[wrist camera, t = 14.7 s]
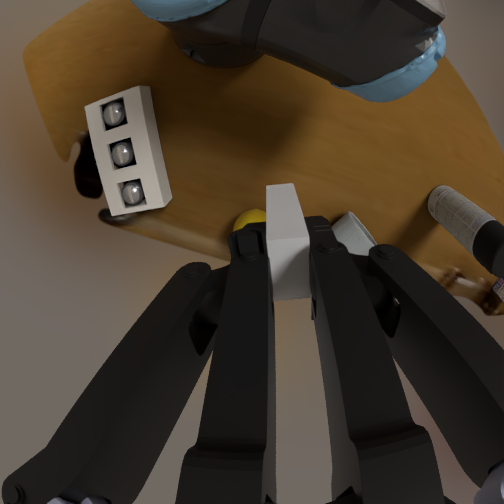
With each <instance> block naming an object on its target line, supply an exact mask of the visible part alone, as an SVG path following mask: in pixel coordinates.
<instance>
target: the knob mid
mask: <svg viewBox="0 0 504 504" xmlns="http://www.w3.org/2000/svg"><path fill="white" fill-rule="evenodd" d="M111 156H112V159H113V161H114V163H115V164H117V165H119V166H124V165H127V164H128V163H130V162H132V161H134V160H136V159H135V154H134V150H133V145H132V141H131V139H130V140H127V141H124V142H121V143H118V144H116V145H115V146H114V147H113V149H112V153H111Z"/></svg>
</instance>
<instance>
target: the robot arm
mask: <svg viewBox="0 0 504 504" xmlns="http://www.w3.org/2000/svg"><path fill="white" fill-rule="evenodd" d="M131 2H132V3H133V4H134V5H135V6H136V7H138V8H139V10H140V11H141V12H142V13H143V14H144V15H146V16H147V17H148V18H152V19H154V20H156V21H158V22H159V23H161V24H163V25H164V26H166V27H167V28H169V29H170V30H172V32H173V37H174V39H175V42H176V44H177V45H178V47H179V48H180V50H181V51H182V52H183V53H184V54H185V55H187V56H188V57H189V58H191V59H193V60H194V61H196V62H198V63H200V64H203V65H206V66H209V67H215V68H232V67H238V66H242V65H245V64H248V63H250V62H252V61H254V60H256V59H258V58H259V57H261V56H262V55H263V54H267V55H269V56H272V57H275V58H277V59H280V60H283V61H285V62H288V63H290V64H292V65H295V66H297V67H299V68H302V69H304V70H306V71H309V72H311V73H313V74H315V75H317V76H319V77H321V78H324V79H326V80H328V81H330V83H331V84H332V85H333V86H335V87H337V88H339V89H343V90H347V91H349V92H351V93H353V94H355V95H357V96H359V97H361V98H363V99H365V100H368V101H372V102H389V101H393V100H396V99H399V98H401V97H403V96H405V95H407V94H408V93H410V92H412V91H413V90H415V89H416V88H417V87H419V86H420V85H421V84H422V83H423V82H424V81H426V80H427V79H428V78H429V76H430V75H431V74H432V73H433V72H434V70H435V69H436V67H437V63H436V61H438V60H439V59H441V58H442V57H443V55H444V52H445V47H446V41H445V36H444V34H443V32H442V30H441V28H440V27H439V26H438V25H439V24H440V23H441V22H442V21H443V19H444V18H445V17H446V16H447V14H446V10H445V6H444V2H443V0H131ZM228 243H229V248H230V253H231V263H230V264H229V265H227V266H225V267H222V268H219V269H215V270H211V267H210V265H208V264H207V263H204V262H192V263H189V264H187V265H185V266H183V267H181V268H180V269H179V270H178V271H177V272H176V273H175V274H174V275H173V277H172V278H171V279H170V280H169V281H168V283H167V284H166V285H165V286H164V287H163V289H162V290H161V291H160V292H159V293H158V295H157V296H156V297H155V299H154V300H153V301H152V302H151V303H150V305H149V306H148V307H147V308H146V310H145V311H144V312H143V313H142V315H141V316H140V317H139V318H138V320H137V321H136V322H135V323H134V325H133V326H132V327H131V329H130V330H129V331H128V332H127V334H126V335H125V336H124V338H123V339H122V340H121V342H120V343H119V344H118V346H117V347H116V348H115V349H114V351H113V352H112V353H111V355H110V356H109V357H108V359H107V360H106V361H105V363H104V364H103V365H102V367H101V368H100V369H99V371H98V372H97V374H96V375H95V376H94V378H93V379H92V380H91V382H90V383H89V385H88V386H87V387H86V389H85V390H84V392H83V393H82V394H81V396H80V397H79V399H78V400H77V402H76V403H75V404H74V406H73V407H72V409H71V410H70V412H69V413H68V415H67V416H66V417H65V419H64V420H63V422H62V423H61V425H60V426H59V428H58V429H57V431H56V432H55V434H54V435H53V437H52V438H51V440H50V442H49V443H48V445H47V446H46V447H45V448H44V449H43V450H42V451H40V452H39V453H38V454H36V455H35V456H34V457H33V458H31V459H30V460H29V461H28V462H26V463H25V464H24V465H22V466H21V467H20V468H19V469H17V470H16V471H15V472H13V473H12V474H11V475H9V476H8V477H7V478H6V479H5V481H4V482H3V486H2V499H3V502H4V504H132V503H133V502H134V501H135V499H136V498H137V496H138V494H139V493H140V491H141V490H142V488H143V486H144V484H145V482H146V480H147V479H148V477H149V475H150V473H151V471H152V469H153V467H154V465H155V463H156V461H157V459H158V457H159V455H160V454H161V451H162V450H163V448H164V446H165V443H166V442H167V440H168V438H169V436H170V434H171V432H172V430H173V428H174V426H175V424H176V422H177V420H178V418H179V416H180V414H181V413H182V411H183V409H184V407H185V405H186V403H187V401H188V399H189V397H190V395H191V393H192V391H193V389H194V387H195V385H196V383H197V381H198V379H199V377H200V375H201V373H202V371H203V369H204V367H205V365H206V363H207V361H208V359H209V357H210V355H211V353H212V351H213V355H212V360H211V365H210V371H209V376H208V382H207V387H206V393H205V399H204V404H203V410H202V416H201V421H200V427H199V433H198V438H197V442H196V444H195V445H194V446H193V447H191V448H189V449H188V450H187V452H186V454H185V456H184V459H183V463H182V467H181V473H180V478H179V484H178V490H177V497H176V502H175V504H276V470H275V469H276V377H275V376H276V372H275V319H274V318H275V317H274V302H273V301H278V300H290V299H301V298H310V297H311V295H312V317H311V318H312V320H314V323H315V329H316V335H317V342H318V348H319V354H320V361H321V369H322V376H323V383H324V390H325V399H326V407H327V416H328V425H329V434H330V444H331V455H332V467H333V470H332V484H331V485H332V502H329V503H326V504H456V503H455V502H453V501H452V500H450V499H448V498H447V497H446V496H444V495H443V489H442V484H441V479H440V474H439V469H438V465H437V460H436V456H435V452H434V448H433V444H432V441H431V438H430V436H429V433H428V431H426V429H425V428H424V427H423V426H420V425H416V424H415V423H414V421H413V419H412V417H411V413H410V410H409V407H408V403H407V400H406V396H405V393H404V390H403V387H402V384H401V380H400V378H399V375H398V371H397V369H396V366H395V363H394V360H393V358H394V359H395V361H396V362H397V364H398V365H399V366H400V368H401V369H402V371H403V372H404V374H405V375H406V377H407V379H408V380H409V381H410V383H411V384H412V386H413V388H414V389H415V391H416V392H417V394H418V395H419V397H420V399H421V400H422V402H423V403H424V405H425V406H426V408H427V409H428V411H429V413H430V414H431V416H432V418H433V419H434V421H435V423H436V424H437V426H438V428H439V429H440V431H441V433H442V434H443V436H444V438H445V439H446V441H447V443H448V445H449V446H450V448H451V450H452V452H453V453H454V455H455V457H456V459H457V460H458V462H459V464H460V465H461V467H462V468H463V470H464V472H465V473H466V474H467V475H468V476H469V478H470V479H471V480H472V481H473V482H474V483H475V484H476V485H477V486H478V487H480V488H481V490H480V491H478V492H477V494H476V495H475V498H474V504H504V350H503V349H502V347H501V346H500V345H499V344H498V343H497V342H496V341H495V339H494V338H493V337H492V336H491V335H490V334H489V333H488V332H487V331H486V330H485V329H484V328H483V327H482V325H481V324H480V323H479V322H478V321H477V320H476V319H475V318H474V317H473V316H472V315H471V314H470V313H469V312H468V311H467V310H466V309H465V308H464V307H463V306H462V305H461V304H460V303H459V302H458V301H457V300H456V299H455V298H454V297H453V296H452V295H451V294H450V293H449V292H448V291H446V290H445V289H444V288H443V287H442V286H441V285H440V284H439V283H438V282H437V281H436V280H435V279H433V278H432V277H431V276H430V275H429V274H428V273H427V272H426V271H424V270H423V269H422V268H421V267H420V266H419V265H418V264H416V263H415V262H414V261H413V260H412V259H411V258H409V257H408V256H407V255H406V254H405V253H404V252H402V251H401V250H400V249H398V248H396V247H394V246H391V245H388V244H386V245H385V244H381V245H375V246H373V247H371V248H370V249H369V253H368V256H367V255H357V254H352V253H349V251H348V249H347V247H346V246H345V245H344V244H343V243H341V242H339V241H337V239H336V236H335V234H334V232H333V230H332V228H331V226H330V224H329V222H328V220H327V219H326V218H324V217H323V216H311V217H303V214H302V210H301V207H300V204H299V201H298V198H297V194H296V191H295V188H294V185H293V183H289V184H278V185H268V186H266V221H264V222H254V223H247V224H246V225H245V226H244V227H243V228H242V229H238V230H236V231H234V232H232V233H231V234H230V235H229V236H228ZM395 298H396V299H397V300H398V302H399V304H398V303H397V302H396V300H395ZM392 356H393V357H392Z"/></svg>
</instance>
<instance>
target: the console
mask: <svg viewBox="0 0 504 504" xmlns="http://www.w3.org/2000/svg"><path fill="white" fill-rule="evenodd" d="M121 99H124V105H125V110H126V116H127V121H128V124H126V125H123V126H119V127H116V128H114V129H111V130H108V131H106V128H105V123H104V119H103V113H102V107H103V106H105V105H108V104H110V103H113V102H116V101H118V100H121ZM85 112H86V117H87V123H88V128H89V132H90V137H91V142H92V146H93V150H94V155H95V159H96V163H97V167H98V171H99V174H100V178H101V182H102V185H103V189H104V192H105V195H106V199H107V202H108V205H109V209H110V212H111V215H112V216H115V215H121V214H126V213H132V212H137V211H143V210H149V209H155V208H161V207H165V206H166V205H167V204H168V203H169V201H170V200H171V199H172V194H171V190H170V186H169V181H168V177H167V172H166V168H165V163H164V159H163V154H162V149H161V145H160V140H159V135H158V130H157V124H156V119H155V114H154V108H153V102H152V97H151V90H150V86H136V87H133V88H130V89H127V90H125V91H122V92H119V93H116V94H114V95H111V96H109V97H106V98H104V99H101V100H99V101H97V102H94V103H92V104H90V105H87V106H85ZM129 137H131V141H132V145H133V150H134V154H135V159H136V163H137V164H136V165H132V166H128V167H125V168H121V169H117V170H115V168H114V164H113V160H112V156H111V151H110V147H109V144H110V143H113V142H116V141H119V140H123V139H126V138H129ZM138 178H140V179H141V183H142V187H143V191H144V195H145V198H146V199H144V200H141V201H140V202H139V203H138V204H136V205H130V204H128V203H124V201H123V198H122V194H121V190H120V187H119V183H121V182H125V181H129V180H134V179H138Z"/></svg>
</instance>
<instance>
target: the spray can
mask: <svg viewBox="0 0 504 504" xmlns="http://www.w3.org/2000/svg"><path fill="white" fill-rule="evenodd" d="M428 210H429V212H430V214H431V216H432V217H433V218H434V219H436V220H437V221H438V222H439V223H440V224H441V225H442V226H443V227H444V228H445V229H446V230H448V231H449V232H450V233H451V234H452V235H453V236H454V237H455V238H456V239H457V240H458V241H459V242H460V243H461V244H462V245H463V246H464V247H465V248H466V249H467V250H468V251H469V252H470V253H471V254H472V255H473V256H474V257H475V258H476V260H477V261H478V262H479V263H480V264H481V265H482V266H484V267H485V268H486V269H487V270H488V271H489V272H490V273H491V274H494V275H495V276H496V277H500V278H503V277H504V226H503V225H502V224H501V223H499V222H498V221H497V220H496V219H494V218H493V217H492V216H490V215H489V214H488V213H486V212H485V211H484V210H482V209H481V208H480V207H478V206H477V205H475V204H474V203H473V202H471V201H470V200H468V199H467V198H465V197H464V196H462V195H461V194H459V193H458V192H456V191H455V190H453V189H452V188H450V187H448V186H445V185H440V186H438V187H436V188H435V189H433V191H432V192H431V194H430V196H429V199H428Z"/></svg>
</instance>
